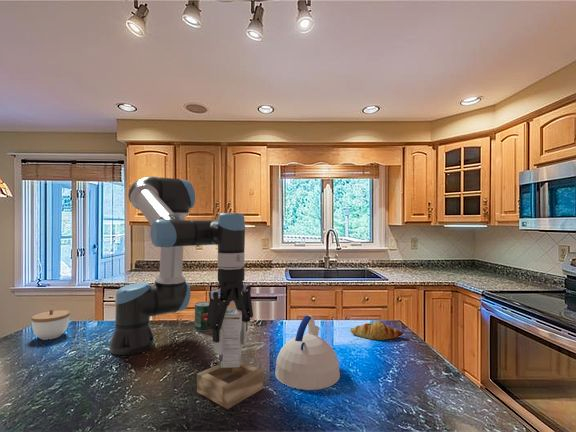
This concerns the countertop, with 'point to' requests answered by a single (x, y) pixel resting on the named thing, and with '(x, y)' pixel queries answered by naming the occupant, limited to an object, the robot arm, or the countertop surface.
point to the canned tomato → (201, 316)
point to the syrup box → (231, 339)
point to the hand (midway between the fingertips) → (230, 348)
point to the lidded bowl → (50, 324)
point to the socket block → (229, 384)
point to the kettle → (307, 360)
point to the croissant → (376, 331)
